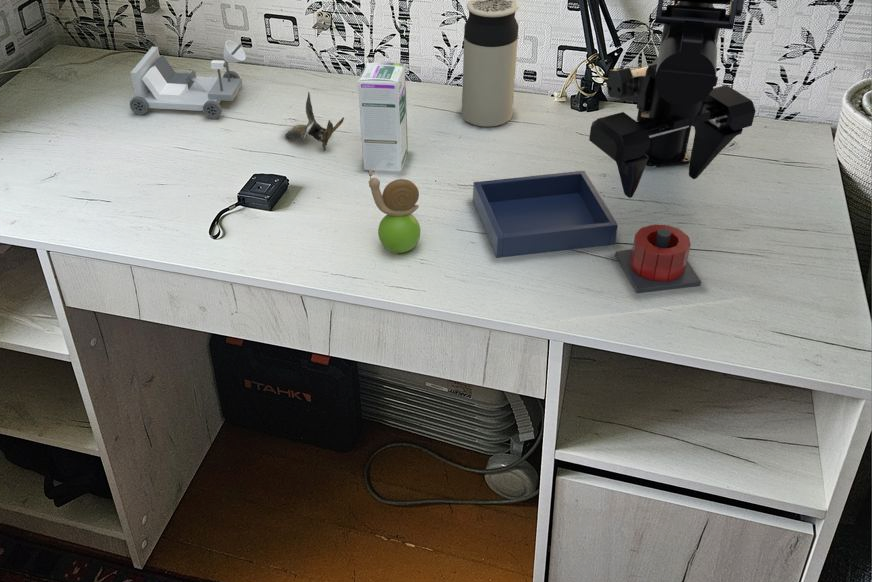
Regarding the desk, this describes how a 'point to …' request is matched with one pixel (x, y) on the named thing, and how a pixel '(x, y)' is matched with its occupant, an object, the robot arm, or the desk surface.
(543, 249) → the box
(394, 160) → the syrup box
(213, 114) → the toy buggy
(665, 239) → the ring stand
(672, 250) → the ring
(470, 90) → the travel mug
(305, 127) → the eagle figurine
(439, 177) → the desk surface
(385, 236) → the snail figurine
